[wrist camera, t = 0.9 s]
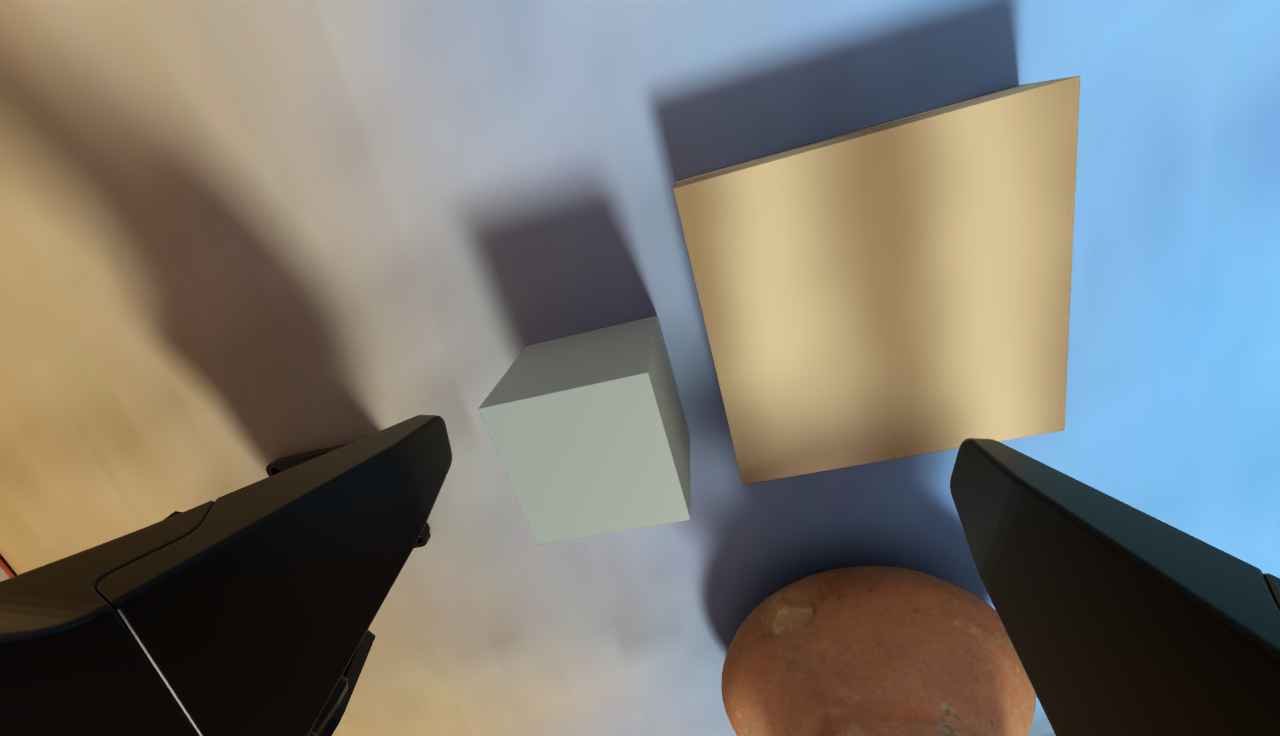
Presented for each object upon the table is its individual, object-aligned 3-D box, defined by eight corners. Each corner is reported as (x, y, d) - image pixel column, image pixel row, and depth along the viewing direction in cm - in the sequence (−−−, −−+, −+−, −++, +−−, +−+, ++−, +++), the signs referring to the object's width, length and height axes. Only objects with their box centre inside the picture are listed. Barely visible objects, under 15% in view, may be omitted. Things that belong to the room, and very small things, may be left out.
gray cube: (569, 457, 25) (537, 544, 20) (527, 345, 23) (478, 409, 18) (689, 434, 24) (690, 519, 19) (657, 314, 22) (648, 372, 17)
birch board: (736, 445, 24) (742, 484, 22) (674, 181, 20) (673, 188, 17) (1017, 394, 22) (1064, 430, 19) (1019, 85, 18) (1080, 75, 15)
